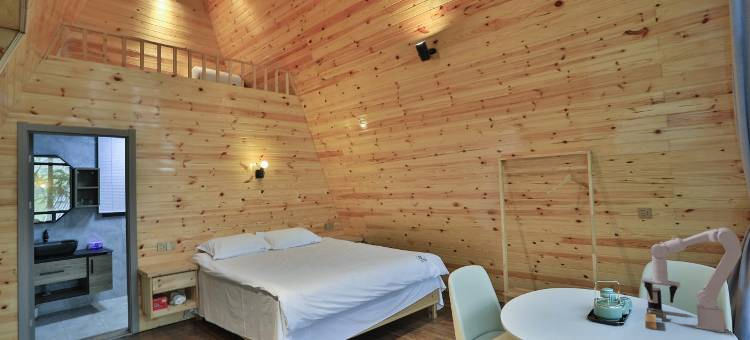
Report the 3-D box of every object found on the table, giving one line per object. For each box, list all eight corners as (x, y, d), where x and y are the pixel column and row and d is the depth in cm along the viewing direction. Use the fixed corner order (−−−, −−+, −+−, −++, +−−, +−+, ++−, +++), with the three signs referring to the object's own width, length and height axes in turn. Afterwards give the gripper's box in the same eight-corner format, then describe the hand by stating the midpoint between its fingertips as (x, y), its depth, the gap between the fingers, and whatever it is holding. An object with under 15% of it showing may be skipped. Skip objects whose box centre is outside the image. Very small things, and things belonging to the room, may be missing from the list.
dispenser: (666, 318, 193) (665, 307, 194) (663, 321, 189) (662, 310, 190) (650, 315, 198) (649, 305, 198) (647, 318, 194) (646, 308, 194)
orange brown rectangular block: (656, 322, 190) (655, 314, 190) (656, 330, 180) (656, 322, 180) (645, 321, 192) (645, 313, 192) (645, 328, 182) (645, 320, 182)
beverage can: (664, 313, 201) (662, 288, 201) (651, 313, 202) (649, 288, 202) (658, 309, 206) (657, 285, 207) (646, 309, 207) (644, 285, 208)
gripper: (639, 270, 193) (640, 300, 192) (677, 274, 182) (679, 305, 182) (643, 267, 197) (644, 296, 197) (680, 271, 187) (682, 302, 187)
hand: (661, 300), depth 190 cm, fingers open, 7 cm apart
